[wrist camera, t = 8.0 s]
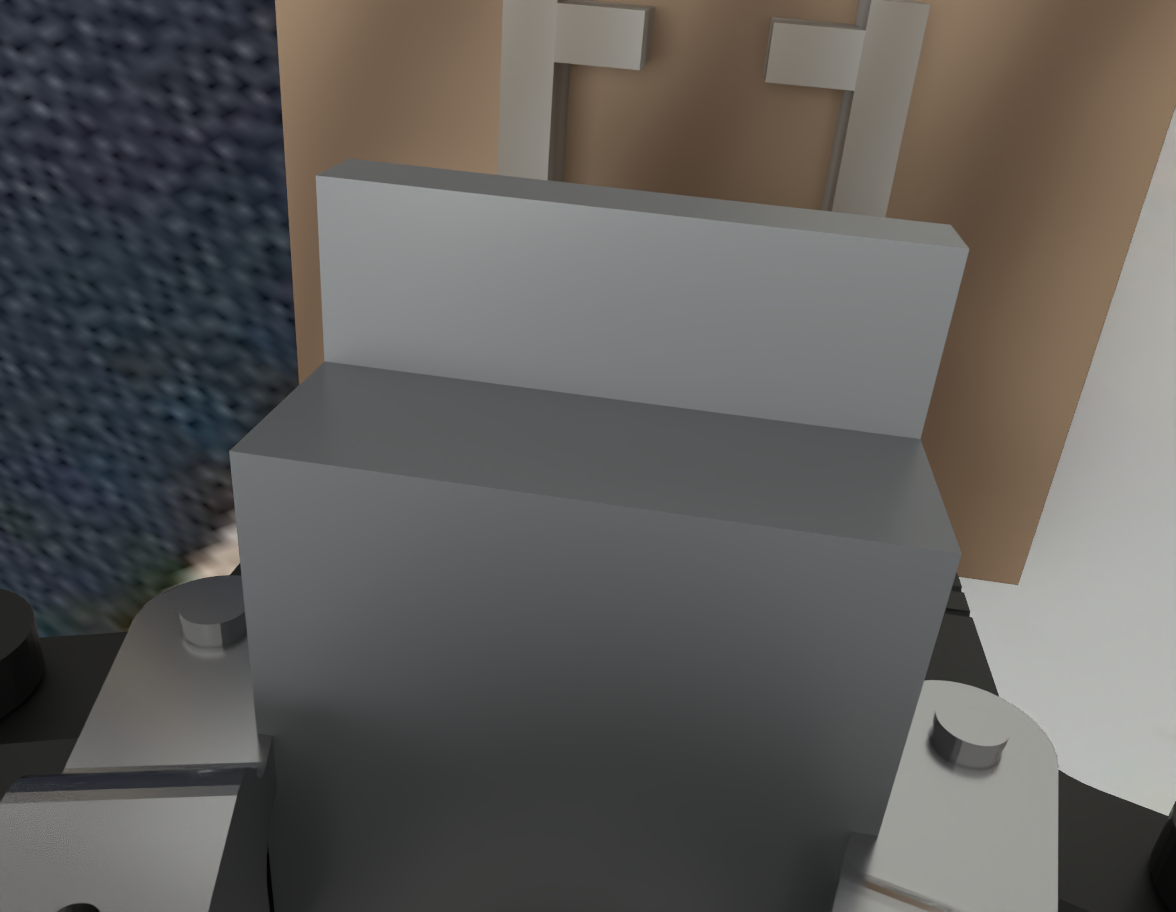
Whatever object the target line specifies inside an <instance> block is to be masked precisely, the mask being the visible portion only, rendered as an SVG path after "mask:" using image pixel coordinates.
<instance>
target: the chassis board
mask: <svg viewBox="0 0 1176 912" xmlns="http://www.w3.org/2000/svg"><path fill="white" fill-rule="evenodd" d="M275 6H276V22H277V38H278V54H279V70H280V86H281V101H282V117H283V133H284V149H285V165H286V181H287V197H288V213H289V229H290V245H291V261H292V277H293V293H294V309H295V325H296V341H297V357H298V373H299V385H300V384H301V383H302V382H303V381H304V380H305V379H306V378H307V377H308V376H309V375H311V374H312V373H313V372H314V371H315V370H316V369H317V368H318V367H319V366H320V365H321V364H322V363H323V362H324V342H323V320H322V299H321V278H320V256H319V235H318V213H317V192H316V175H318V174H320V173H322V172H324V171H326V170H328V169H330V168H332V167H334V166H336V165H338V164H340V163H342V162H344V161H346V160H348V159H358V160H367V161H376V162H385V163H394V164H403V165H412V166H421V167H431V168H440V169H449V170H458V171H467V172H476V173H485V174H494V175H503V176H512V177H521V178H530V179H539V180H548V181H558V182H567V183H576V184H585V185H594V186H603V187H612V188H621V189H630V190H639V191H648V192H657V193H666V194H675V195H685V196H694V197H703V198H712V199H721V200H730V201H739V202H748V203H757V204H766V205H775V206H784V207H793V208H802V209H812V210H821V211H830V212H839V213H848V214H857V215H866V216H875V217H884V218H893V219H902V220H911V221H920V222H929V223H939V224H948V225H951V226H952V227H953V228H954V230H955V231H956V232H957V233H958V235H959V236H960V237H961V239H962V240H963V241H964V243H965V244H966V245H967V246H968V248H969V252H968V256H967V260H966V264H965V268H964V272H963V276H962V280H961V283H960V287H959V291H958V295H957V299H956V303H955V307H954V311H953V314H952V318H951V322H950V326H949V330H948V334H947V338H946V342H945V345H944V349H943V353H942V357H941V361H940V365H939V369H938V373H937V376H936V380H935V384H934V388H933V392H932V396H931V400H930V404H929V407H928V411H927V415H926V419H925V423H924V427H923V431H922V435H921V442H922V445H923V448H924V450H925V453H926V456H927V459H928V462H929V464H930V467H931V470H932V473H933V475H934V478H935V481H936V484H937V487H938V489H939V492H940V495H941V498H942V500H943V503H944V506H945V509H946V511H947V514H948V517H949V520H950V523H951V525H952V528H953V531H954V534H955V536H956V539H957V542H958V545H959V548H960V550H961V553H962V555H961V558H960V562H959V565H958V568H957V574H958V577H965V578H972V579H979V580H986V581H993V582H1000V583H1007V584H1014V585H1018V583H1019V580H1020V577H1021V574H1022V571H1023V568H1024V565H1025V562H1026V559H1027V556H1028V553H1029V550H1030V547H1031V544H1032V541H1033V538H1034V535H1035V532H1036V529H1037V526H1038V523H1039V520H1040V517H1041V514H1042V511H1043V508H1044V504H1045V501H1046V498H1047V495H1048V492H1049V489H1050V486H1051V483H1052V480H1053V477H1054V474H1055V471H1056V468H1057V465H1058V462H1059V459H1060V456H1061V453H1062V450H1063V447H1064V444H1065V441H1066V438H1067V435H1068V432H1069V429H1070V425H1071V422H1072V419H1073V416H1074V413H1075V410H1076V407H1077V404H1078V401H1079V398H1080V395H1081V392H1082V389H1083V386H1084V383H1085V380H1086V377H1087V374H1088V371H1089V368H1090V365H1091V362H1092V359H1093V356H1094V353H1095V349H1096V346H1097V343H1098V340H1099V337H1100V334H1101V331H1102V328H1103V325H1104V322H1105V319H1106V316H1107V313H1108V310H1109V307H1110V304H1111V301H1112V298H1113V295H1114V292H1115V289H1116V286H1117V283H1118V280H1119V277H1120V274H1121V270H1122V267H1123V264H1124V261H1125V258H1126V255H1127V252H1128V249H1129V246H1130V243H1131V240H1132V237H1133V234H1134V231H1135V228H1136V225H1137V222H1138V219H1139V216H1140V213H1141V210H1142V207H1143V204H1144V201H1145V198H1146V194H1147V191H1148V188H1149V185H1150V182H1151V179H1152V176H1153V173H1154V170H1155V167H1156V164H1157V161H1158V158H1159V155H1160V152H1161V149H1162V146H1163V143H1164V140H1165V137H1166V134H1167V131H1168V128H1169V125H1170V122H1171V119H1172V115H1173V112H1174V109H1175V106H1176V0H275Z"/></svg>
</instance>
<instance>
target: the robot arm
mask: <svg viewBox="0 0 1176 912" xmlns="http://www.w3.org/2000/svg"><path fill="white" fill-rule="evenodd" d="M961 588H962V586H961V583H960V580H959V577H958V574H957V572H956V575H955V578H954V582H953V585H952V589H951V592H950V595H949V599H948V602H947V605H946V609H945V612H944V616H943V619H942V622H941V626H940V629H939V632H938V636H937V639H936V643H935V646H934V649H933V653H932V656H931V659H930V663H929V666H928V669H927V673H926V676H925V680H924V683H923V686H922V690H921V693H920V696H919V700H918V703H917V707H916V710H915V713H914V717H913V720H912V723H911V727H910V730H909V734H908V737H907V740H906V744H905V747H904V750H903V754H902V757H901V760H900V764H899V767H898V771H897V774H896V777H895V781H894V784H893V787H892V791H891V794H890V798H889V801H888V804H887V808H886V811H885V814H884V818H883V821H882V825H881V828H880V831H879V835H878V836H876V835H870V834H864V833H858V832H851V831H850V834H849V838H848V841H847V845H846V848H845V852H844V856H843V859H842V863H841V867H840V870H839V874H838V878H837V881H836V885H835V889H834V893H833V897H832V901H831V905H830V909H829V912H1176V802H1175V804H1174V806H1173V808H1172V810H1171V812H1170V814H1169V816H1166V815H1163V814H1161V813H1158V812H1156V811H1153V810H1150V809H1148V808H1145V807H1142V806H1140V805H1137V804H1134V803H1132V802H1129V801H1126V800H1124V799H1121V798H1118V797H1116V796H1113V795H1111V794H1108V793H1105V792H1103V791H1100V790H1098V789H1095V788H1093V787H1091V786H1088V785H1086V784H1084V783H1082V782H1080V781H1078V780H1076V779H1074V778H1072V777H1070V776H1068V775H1066V774H1065V773H1063V772H1062V771H1060V770H1058V759H1057V754H1056V752H1055V749H1054V746H1053V744H1052V743H1051V741H1050V739H1049V738H1048V736H1047V735H1046V733H1045V732H1044V731H1043V730H1042V729H1041V728H1040V726H1039V725H1038V724H1037V723H1036V722H1035V721H1034V720H1032V719H1031V718H1030V717H1029V716H1028V715H1027V714H1026V713H1024V712H1023V711H1021V710H1020V709H1019V708H1017V707H1016V706H1014V705H1013V704H1011V703H1009V702H1008V701H1006V700H1004V699H1002V698H1000V697H999V695H998V692H997V689H996V686H995V683H994V680H993V677H992V674H991V671H990V668H989V665H988V663H987V660H986V657H985V654H984V651H983V648H982V645H981V642H980V639H979V636H978V633H977V630H976V627H975V624H974V621H973V618H971V617H969V615H970V610H969V607H968V604H967V601H966V598H965V595H964V593H962V592H961ZM276 790H277V778H276V767H275V756H274V745H273V736H272V735H266V734H260V733H257V728H256V718H255V708H254V698H253V687H252V677H251V667H250V657H249V647H248V636H247V626H246V616H245V606H244V596H243V585H242V575H241V565H240V564H239V565H238V566H237V567H236V568H235V570H234V571H233V572H232V573H231V574H230V575H227V576H215V577H208V578H202V579H198V580H194V581H190V582H187V583H184V584H181V585H178V586H176V587H174V588H171V589H169V590H167V591H165V592H163V593H162V594H160V595H158V596H157V597H155V598H154V599H152V600H151V601H150V602H148V603H147V604H146V605H145V606H144V607H143V608H142V609H141V610H140V611H139V612H138V614H137V615H136V617H135V618H134V620H133V622H132V624H131V626H130V628H129V630H128V632H119V633H108V634H92V635H76V636H60V637H43V638H39V635H38V631H37V626H36V622H35V617H34V613H33V610H32V608H31V606H30V604H29V603H28V602H27V601H26V600H25V599H24V598H22V597H21V596H19V595H17V594H15V593H12V592H10V591H7V590H3V589H0V912H274V902H273V891H272V881H271V871H270V861H269V851H268V836H269V827H270V820H271V815H272V810H273V805H274V800H275V795H276Z"/></svg>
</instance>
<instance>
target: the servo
mask: <svg viewBox="0 0 1176 912" xmlns="http://www.w3.org/2000/svg"><path fill="white" fill-rule="evenodd" d="M316 192H317V213H318V235H319V256H320V278H321V299H322V320H323V342H324V362H323V363H322V364H321V365H320V366H319V367H318V368H317V369H316V370H315V371H314V372H313V373H312V374H311V375H309V376H308V377H307V378H306V379H305V380H304V381H303V382H302V383H301V384H300V385H299V386H298V387H297V388H296V389H295V390H294V391H293V392H291V393H290V394H289V395H288V396H287V397H286V398H285V399H284V400H283V401H282V402H281V403H280V404H279V405H278V406H277V407H276V408H275V409H273V410H272V411H271V412H270V413H269V414H268V415H267V416H266V417H265V418H264V419H263V420H262V421H261V422H260V423H259V424H258V425H257V426H255V427H254V428H253V429H252V430H251V431H250V432H249V433H248V434H247V435H246V436H245V437H244V438H243V439H242V440H241V441H240V442H238V443H237V444H236V445H235V446H234V447H233V448H232V449H231V450H230V451H229V453H230V463H231V473H232V483H233V494H234V504H235V514H236V524H237V534H238V545H239V555H240V565H241V575H242V585H243V596H244V606H245V616H246V626H247V636H248V647H249V657H250V667H251V677H252V687H253V698H254V708H255V718H256V728H257V733H260V734H266V735H272V736H273V745H274V756H275V767H276V778H277V790H276V795H275V800H274V805H273V810H272V815H271V820H270V827H269V836H268V851H269V861H270V871H271V881H272V891H273V902H274V912H829V909H830V905H831V901H832V897H833V893H834V889H835V885H836V881H837V878H838V874H839V870H840V867H841V863H842V859H843V856H844V852H845V848H846V845H847V841H848V838H849V834H850V831H851V832H858V833H864V834H870V835H876V836H878V835H879V831H880V828H881V825H882V821H883V818H884V814H885V811H886V808H887V804H888V801H889V798H890V794H891V791H892V787H893V784H894V781H895V777H896V774H897V771H898V767H899V764H900V760H901V757H902V754H903V750H904V747H905V744H906V740H907V737H908V734H909V730H910V727H911V723H912V720H913V717H914V713H915V710H916V707H917V703H918V700H919V696H920V693H921V690H922V686H923V683H924V680H925V676H926V673H927V669H928V666H929V663H930V659H931V656H932V653H933V649H934V646H935V643H936V639H937V636H938V632H939V629H940V626H941V622H942V619H943V616H944V612H945V609H946V605H947V602H948V599H949V595H950V592H951V589H952V585H953V582H954V578H955V575H956V572H957V568H958V565H959V562H960V558H961V555H962V553H961V550H960V548H959V545H958V542H957V539H956V536H955V534H954V531H953V528H952V525H951V523H950V520H949V517H948V514H947V511H946V509H945V506H944V503H943V500H942V498H941V495H940V492H939V489H938V487H937V484H936V481H935V478H934V475H933V473H932V470H931V467H930V464H929V462H928V459H927V456H926V453H925V450H924V448H923V445H922V442H921V435H922V431H923V427H924V423H925V419H926V415H927V411H928V407H929V404H930V400H931V396H932V392H933V388H934V384H935V380H936V376H937V373H938V369H939V365H940V361H941V357H942V353H943V349H944V345H945V342H946V338H947V334H948V330H949V326H950V322H951V318H952V314H953V311H954V307H955V303H956V299H957V295H958V291H959V287H960V283H961V280H962V276H963V272H964V268H965V264H966V260H967V256H968V252H969V248H968V246H967V245H966V244H965V243H964V241H963V240H962V239H961V237H960V236H959V235H958V233H957V232H956V231H955V230H954V228H953V227H952V226H951V225H948V224H939V223H929V222H920V221H911V220H902V219H893V218H884V217H875V216H866V215H857V214H848V213H839V212H830V211H821V210H812V209H802V208H793V207H784V206H775V205H766V204H757V203H748V202H739V201H730V200H721V199H712V198H703V197H694V196H685V195H675V194H666V193H657V192H648V191H639V190H630V189H621V188H612V187H603V186H594V185H585V184H576V183H567V182H558V181H548V180H539V179H530V178H521V177H512V176H503V175H494V174H485V173H476V172H467V171H458V170H449V169H440V168H431V167H421V166H412V165H403V164H394V163H385V162H376V161H367V160H358V159H348V160H346V161H344V162H342V163H340V164H338V165H336V166H334V167H332V168H330V169H328V170H326V171H324V172H322V173H320V174H318V175H316Z"/></svg>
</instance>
